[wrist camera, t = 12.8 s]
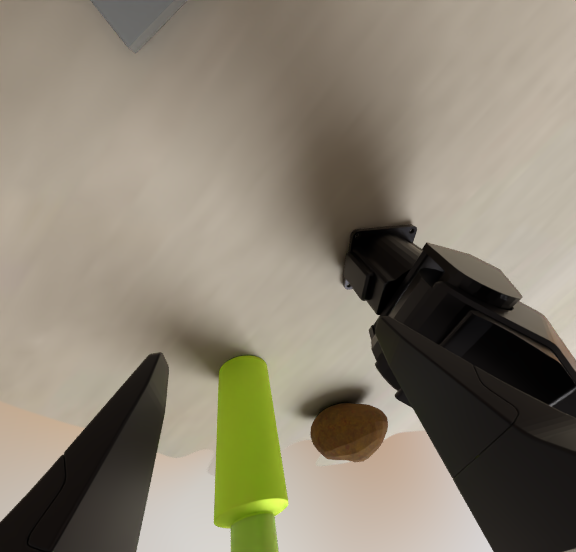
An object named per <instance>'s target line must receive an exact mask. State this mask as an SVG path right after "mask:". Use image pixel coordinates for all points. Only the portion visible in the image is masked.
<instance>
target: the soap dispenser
mask: <svg viewBox="0 0 576 552" xmlns="http://www.w3.org/2000/svg"><path fill="white" fill-rule="evenodd" d="M287 506H288V497H287V491H286V485H285V478H284V472H283V465H282V459H281V453H280V446H279V440H278V434H277V427H276V421H275V415H274V408H273V402H272V395H271V389H270V383H269V376H268V370H267V365H266V363H265V362H264V361H263V360H262V359H261V358H259V357H255V356H239V357H235V358H233V359H230V360H229V361H227V362H226V363H224V364H223V365H222V367H221V368H220V370H219V387H218V416H217V446H216V475H215V505H214V524H215V525H216V526H218V527H222V528H231V552H278V544H277V535H276V527H275V517H274V516H276V515H277V514H279V513H280V512H282V511H283V510H284V509H285V508H286V507H287Z"/></svg>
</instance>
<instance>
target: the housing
mask: <svg viewBox="0 0 576 552" xmlns="http://www.w3.org/2000/svg"><path fill="white" fill-rule="evenodd" d="M90 1H91V2H92V3H93V4H94V6H95V7H96V8H97V9H98V11H99V12H100V13H101V14H102V16H103V17H104V18H105V19H106V21H107V22H108V23H109V24H110V26H111V27H112V28H113V29H114V31H115V32H116V33H117V35H118V36H119V37H120V38H121V40H122V41H123V42H124V43H125V45H126V46H127V47H128V48H129V49H130V50H132V51H133V52H135V53H137V52H138V51H139V50H140V48H141V47H142V46H143V45H144V44H145V43H146V42H147V41H148V40H149V39H150V38H151V37H152V36H153V35H154V34H155V33H156V32H157V31H158V30H159V29H160V28H161V27H162V26H163V25H164V24H165V23H166V22H167V21H168V20H169V19H170V18H171V17H172V16H173V15H174V14H175V13H176V12H177V11H178V10H179V8H180V7H181V6H182V5H183V4H184V3H185V2H186V1H187V0H90Z"/></svg>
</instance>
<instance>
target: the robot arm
mask: <svg viewBox="0 0 576 552" xmlns="http://www.w3.org/2000/svg"><path fill="white" fill-rule="evenodd" d="M411 229H412V230H411ZM410 230H411V231H410ZM416 231H417V228H416V227H415V226H413V225H402V226H391V227H380V228H368V229H357V230H354V231H353V232H352V234H351V238H350V244H349V250H348V253H347V254H346V260H345V266H344V273H343V276H344V282H343V286H344V287H345V289H354V291H355V292H356V293H357V295H358V296H359V298H360V299H361V300H362V301H367V302H368V304H369V305H370V306H371V307H372V309H373V310H374V311H375V313H376V314H377V315H380V316H379V318H378V319H377V321H376V322H375V324H374V325H372V326H371V328H370V329H369V333H370V337H371V344H372V351H373V354H374V356H375V359H376V361H377V362H376V363H375V366H376V368H377V370H378V371H379V372H380V374H381V375H382V376H383V378H384V379H385V380H386V381H387V382H388V383H389V384H390V385H391V386H392V387H393V388H394V389H396V390H397V393H396V394H395V397H396V398H397V399H398V400H399V401H401V402H403V403H405V404H406V405H408V406H410V407H412V408H413V409H414V411H415V413H416V414H417V416H418V418H419V420H420V422H421V423H422V425H423V427H424V429H425V430H426V432H427V434H428V436H429V437H430V439H431V441H432V443H433V445H434V446H435V448H436V450H437V452H438V453H439V455H440V457H441V459H442V460H443V462H444V464H445V466H446V468H447V469H448V471H449V473H450V475H451V477H452V478H453V480H454V482H455V484H456V486H457V487H458V489H459V491H460V493H461V495H462V496H463V498H464V500H465V502H466V503H467V505H468V507H469V509H470V511H471V512H472V514H473V516H474V518H475V519H476V521H477V523H478V525H479V527H480V528H481V530H482V532H483V534H484V535H485V537H486V539H487V541H488V543H489V544H490V546H491V548H492V550H493V551H494V552H576V360H575V359H574V357H573V356H572V354H571V353H570V351H569V350H568V348H567V347H566V346H565V344H564V343H563V341H562V340H561V338H560V337H559V335H558V334H557V333H556V331H555V330H554V328H553V327H552V325H551V324H550V322H549V321H548V319H547V318H546V317H545V316H544V315H543V314H541V313H540V312H538V311H536V310H534V309H532V308H531V307H529V306H527V305H525V304H523V303H521V302H520V301H519V300H520V299H521V298H522V295H521V294H520V293H519V291H518V290H517V289H516V288H515V287H514V285H513V284H512V283H511V282H510V281H509V279H508V278H507V277H506V276H505V275H504V274H503V272H502V271H501V270H500V269H498V268H496V267H494V266H492V265H490V264H488V263H486V262H484V261H482V260H480V259H478V258H476V257H474V256H472V255H470V254H467V253H463V252H460V251H456V250H452V249H449V248H445V247H441V246H438V245H434V244H431V243H426V244H425V246H424V247H423V249H421V248H419V247H418V246H416V245H415V244H413V241H414V238H415V234H416ZM357 234H359V235H358V236H357V237H355V236H356V235H357ZM348 284H349V285H348ZM168 375H169V367H168V364H167V362H166V359H165V357H164V355H163V353H161V352H159V353H153V354H150V355H148V356H147V358H146V359H145V360H144V361H143V362H142V363H141V364H140V366H139V367H138V368H137V369H136V370H135V371H134V373H133V374H132V375H131V376H130V377H129V378H128V379H127V381H126V382H125V383H124V384H123V385H122V386H121V387H120V389H119V390H118V391H117V392H116V393H115V394H114V396H113V397H112V398H111V399H110V400H109V401H108V402H107V404H106V405H105V406H104V407H103V408H102V409H101V411H100V412H99V413H98V414H97V415H96V416H95V417H94V419H93V420H92V421H91V422H90V423H89V424H88V425H87V427H86V428H85V429H84V430H83V431H82V432H81V434H80V435H79V436H78V437H77V438H76V439H75V440H74V442H73V443H72V444H71V445H70V446H69V447H68V449H67V450H66V451H65V452H64V455H62V456H61V457H60V458H59V459H58V460H57V461H56V462H55V463H54V465H53V466H52V467H51V468H50V469H49V470H48V472H46V474H45V475H44V476H43V477H42V478H41V479H40V480H39V481H38V483H37V484H36V485H35V486H34V487H33V488H32V489H31V490H30V492H28V494H27V495H26V496H25V497H24V498H23V499H22V500H21V501H20V502H19V503H18V504H17V505H16V506H15V507H14V508H13V509H12V511H10V513H9V514H8V515H7V516H6V517H5V518H4V519H3V520H2V521H1V522H0V552H136V550H137V544H138V540H139V535H140V530H141V525H142V521H143V516H144V511H145V506H146V501H147V497H148V492H149V487H150V482H151V477H152V472H153V468H154V462H155V458H156V453H157V448H158V444H159V439H160V434H161V429H162V424H163V420H164V414H165V407H166V397H167V386H168Z"/></svg>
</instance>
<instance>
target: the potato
mask: <svg viewBox="0 0 576 552" xmlns="http://www.w3.org/2000/svg"><path fill="white" fill-rule="evenodd" d="M387 428H388V421H387V417H386V415H385V414H384V413H383V412H382V411H381V410H379V409H378V408H375V407H373V406H370V405H365V404H352V403H342V404H336V405H332V406H330V407H328V408H326V409H325V410H323V411H322V412H321V413H320V414H319V415H318V416H317V417H316V418H315V420H314V422H313V424H312V426H311V439H312V442H313V444H314V446H315V447H316V448H317V450H318V451H319V452H320V453H321V454H322V455H323V456H324V457H326V458H327V459H332V460H348V461H353V462H361V461H364V460H366V459H368V458H369V457H370V456H371V455H372V454H373V453H374V452H375V451H376V450H377V449H378V448H379V447H380V445H381V443H382V442H383V440H384V437H385V434H386V432H387Z"/></svg>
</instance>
